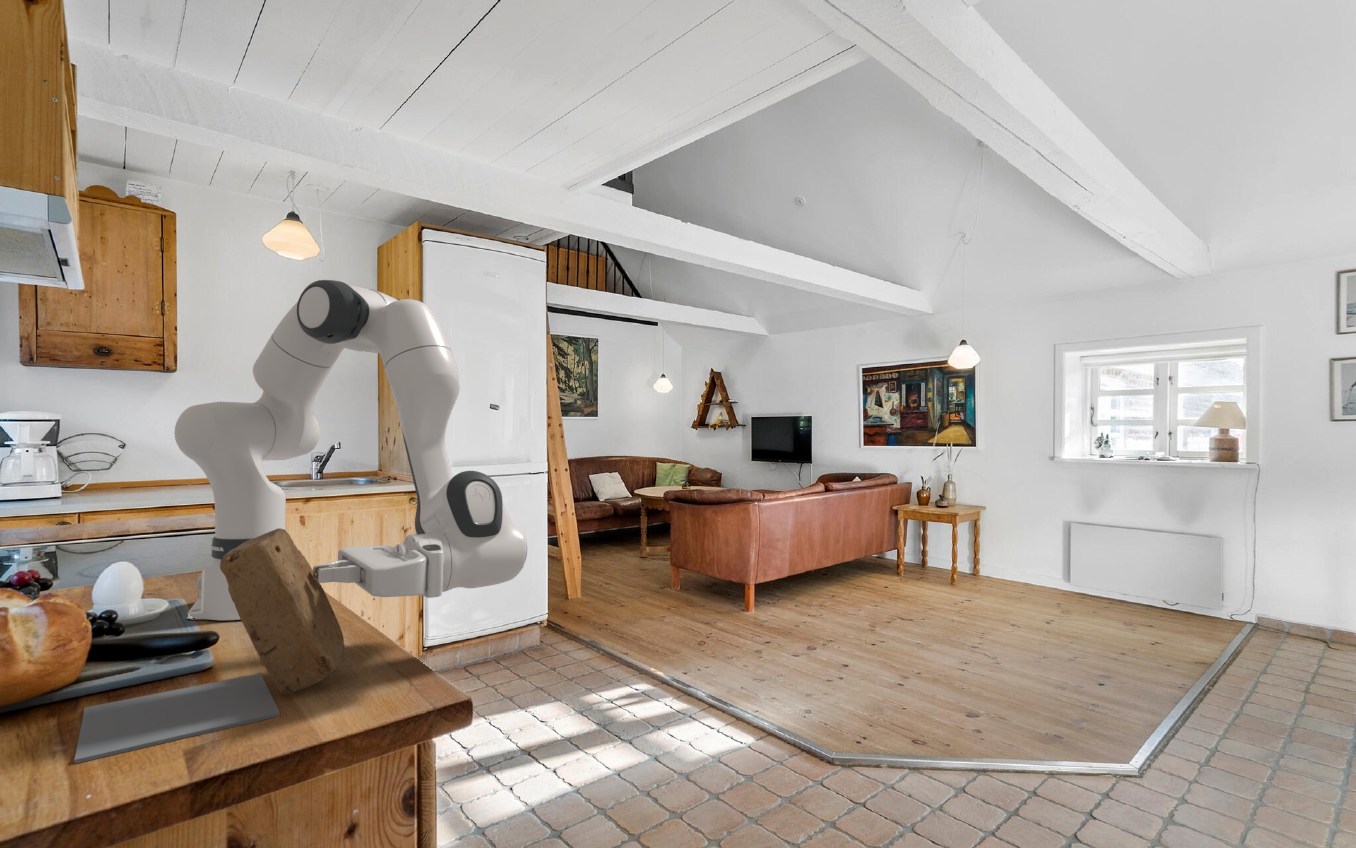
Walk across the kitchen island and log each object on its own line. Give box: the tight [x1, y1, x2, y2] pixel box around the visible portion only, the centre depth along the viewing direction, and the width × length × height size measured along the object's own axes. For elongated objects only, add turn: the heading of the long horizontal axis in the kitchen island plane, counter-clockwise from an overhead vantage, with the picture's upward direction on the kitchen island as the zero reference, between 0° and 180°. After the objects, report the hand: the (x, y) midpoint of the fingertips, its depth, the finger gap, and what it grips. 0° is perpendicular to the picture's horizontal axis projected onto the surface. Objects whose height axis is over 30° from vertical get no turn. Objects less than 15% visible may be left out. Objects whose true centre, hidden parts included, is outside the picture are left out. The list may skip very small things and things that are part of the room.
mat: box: [73, 672, 281, 765], centre depth 78 cm, size 16×18×1 cm
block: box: [220, 528, 346, 694], centre depth 86 cm, size 11×8×20 cm
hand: (315, 574), depth 87 cm, fingers closed
